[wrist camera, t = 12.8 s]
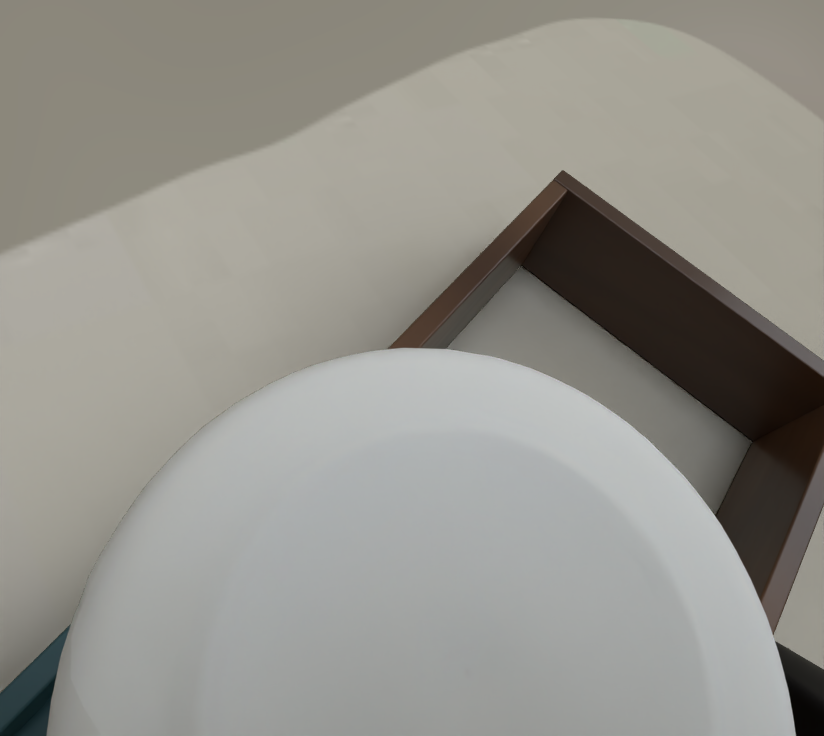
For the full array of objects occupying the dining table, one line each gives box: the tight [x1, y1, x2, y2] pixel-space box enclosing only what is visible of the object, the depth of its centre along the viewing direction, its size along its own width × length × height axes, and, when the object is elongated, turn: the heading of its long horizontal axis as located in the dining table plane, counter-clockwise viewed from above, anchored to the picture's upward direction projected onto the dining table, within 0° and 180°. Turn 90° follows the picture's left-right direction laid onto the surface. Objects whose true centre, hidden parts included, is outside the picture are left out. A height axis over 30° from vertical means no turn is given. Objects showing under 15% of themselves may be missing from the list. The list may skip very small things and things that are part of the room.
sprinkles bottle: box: [47, 348, 796, 736], centre depth 9 cm, size 5×5×13 cm
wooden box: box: [388, 170, 824, 635], centre depth 19 cm, size 10×11×4 cm
